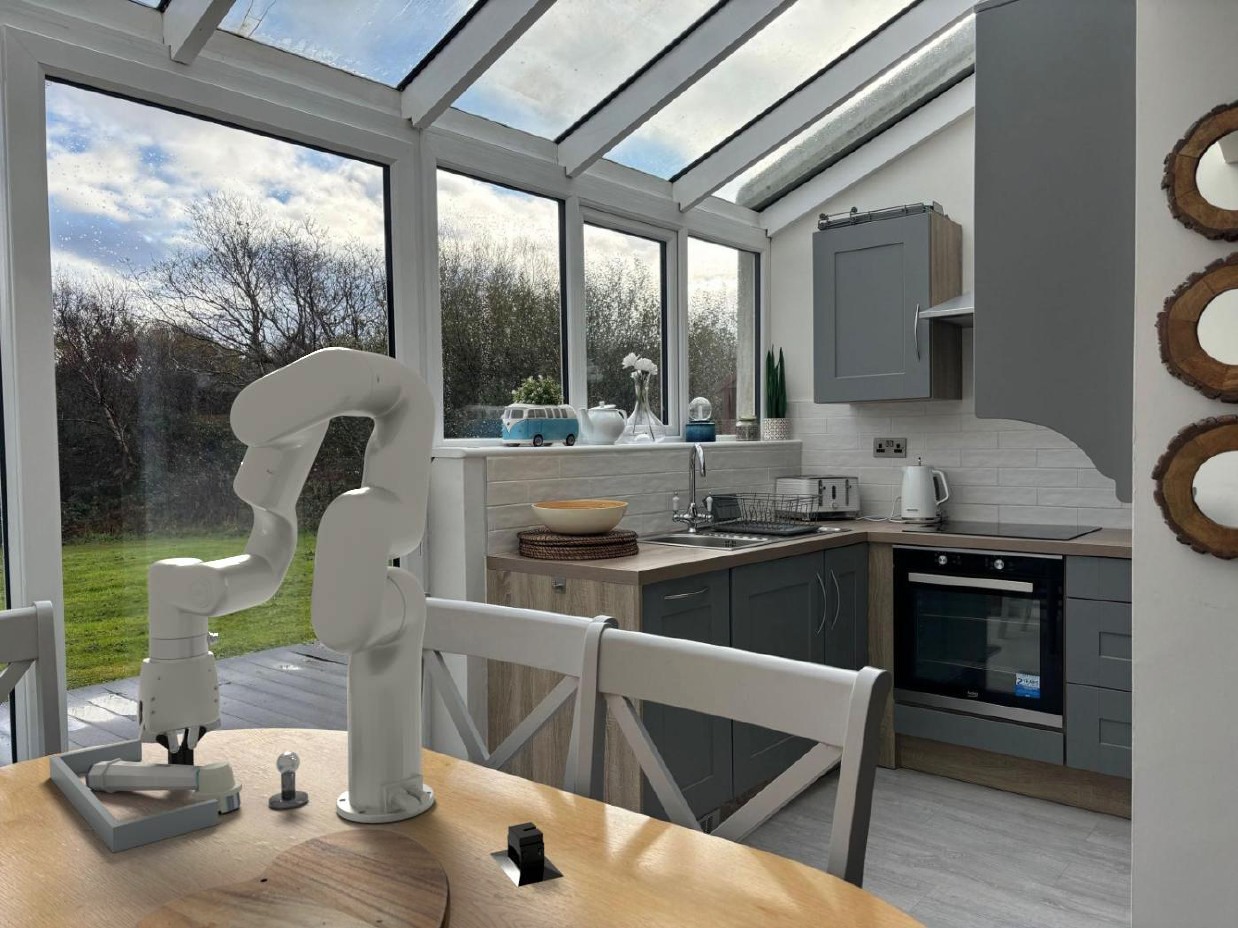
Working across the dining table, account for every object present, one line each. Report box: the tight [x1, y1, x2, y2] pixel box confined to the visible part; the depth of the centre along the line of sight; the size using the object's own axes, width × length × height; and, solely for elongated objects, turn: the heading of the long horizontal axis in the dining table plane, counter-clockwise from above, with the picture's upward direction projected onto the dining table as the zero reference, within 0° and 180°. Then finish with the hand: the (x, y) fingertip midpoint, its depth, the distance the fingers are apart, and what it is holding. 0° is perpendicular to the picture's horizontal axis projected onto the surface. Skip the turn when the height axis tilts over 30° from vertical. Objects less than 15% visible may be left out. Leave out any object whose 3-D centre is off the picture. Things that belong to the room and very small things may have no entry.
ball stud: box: [268, 750, 309, 810], centre depth 124 cm, size 5×5×7 cm
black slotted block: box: [489, 821, 565, 888], centre depth 105 cm, size 12×7×5 cm, turn 27°
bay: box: [49, 738, 219, 854], centre depth 125 cm, size 34×12×3 cm, turn 42°
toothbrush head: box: [84, 758, 243, 814], centre depth 126 cm, size 5×7×25 cm
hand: (181, 776), depth 130 cm, fingers closed
